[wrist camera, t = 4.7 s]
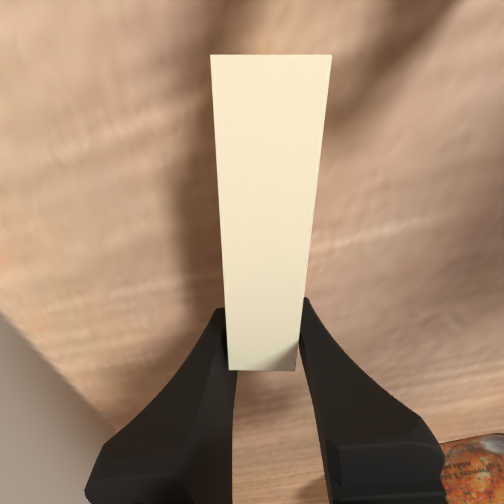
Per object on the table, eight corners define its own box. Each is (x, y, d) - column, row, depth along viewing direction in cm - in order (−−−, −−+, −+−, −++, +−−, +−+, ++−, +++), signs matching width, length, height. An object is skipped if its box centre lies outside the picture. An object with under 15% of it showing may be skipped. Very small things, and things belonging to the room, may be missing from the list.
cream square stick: (305, 60, 10) (334, 54, 6) (286, 295, 15) (296, 371, 11) (227, 60, 10) (207, 54, 6) (235, 294, 15) (227, 369, 11)
